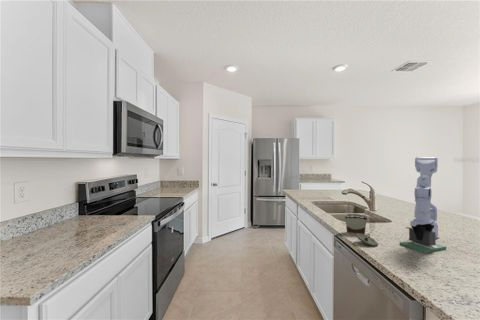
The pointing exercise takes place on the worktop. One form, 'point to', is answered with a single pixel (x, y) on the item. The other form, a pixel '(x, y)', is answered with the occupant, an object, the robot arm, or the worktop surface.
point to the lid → (366, 239)
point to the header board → (422, 246)
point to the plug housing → (426, 239)
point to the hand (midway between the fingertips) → (422, 239)
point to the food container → (355, 223)
